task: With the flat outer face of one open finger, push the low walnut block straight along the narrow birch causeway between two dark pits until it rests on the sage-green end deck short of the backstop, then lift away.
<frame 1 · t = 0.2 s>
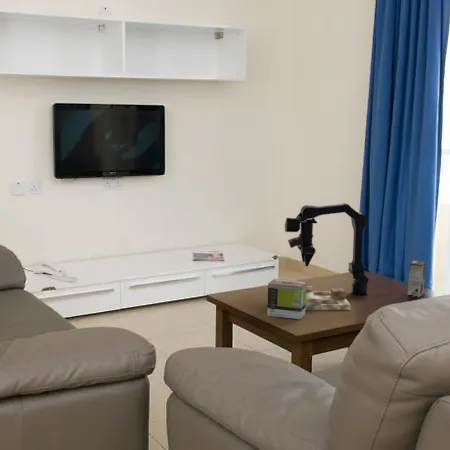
hand: (305, 264, 353), 14 cm above the table, tool pointing down, fingers open, 9 cm apart
tea box: (286, 315, 319), on the table
walnut block: (337, 298, 340), point 2 cm above the table, touching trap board
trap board: (322, 302, 340), on the table
coffee box: (415, 294, 360), on the table
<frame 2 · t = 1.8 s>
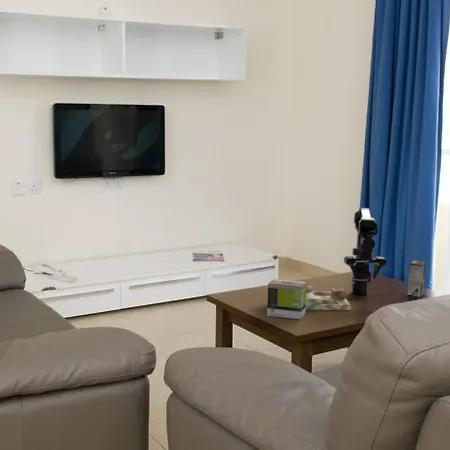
hand: (364, 278, 339), 12 cm above the table, tool pointing down, fingers open, 9 cm apart
nothing on the table moved.
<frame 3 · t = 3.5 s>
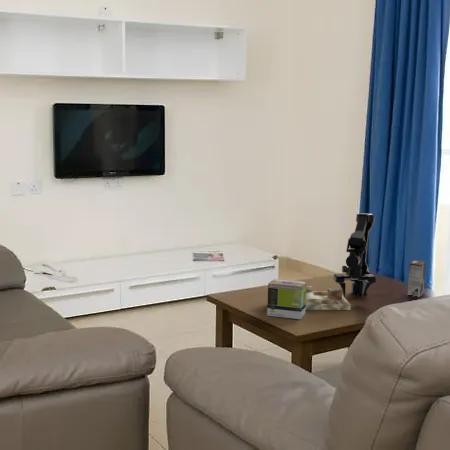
hand: (353, 296, 340), 3 cm above the table, tool pointing down, fingers open, 8 cm apart
walnut block: (334, 298, 340), point 2 cm above the table, touching gripper
everything else where it was.
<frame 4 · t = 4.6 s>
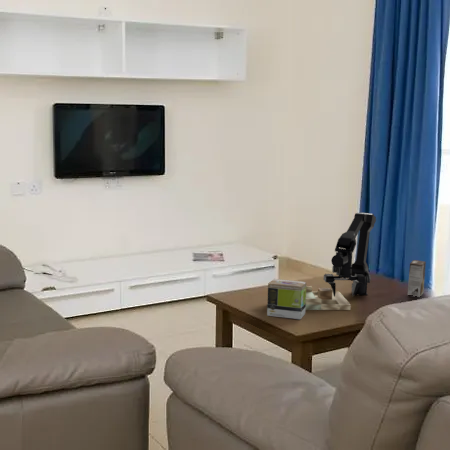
hand: (343, 296, 340), 3 cm above the table, tool pointing down, fingers open, 8 cm apart
walnut block: (324, 297, 339), point 2 cm above the table, touching gripper, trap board
everything else where it was.
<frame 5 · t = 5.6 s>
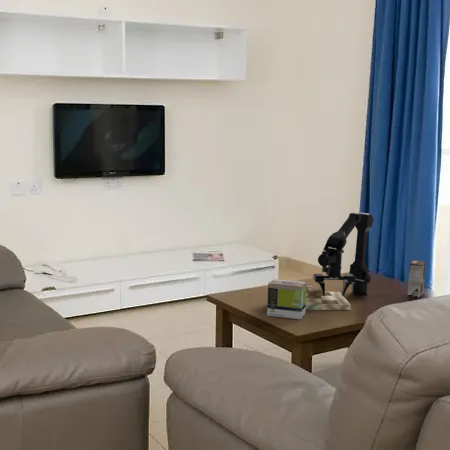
hand: (333, 296, 339), 3 cm above the table, tool pointing down, fingers open, 8 cm apart
walnut block: (314, 297, 339), point 2 cm above the table, touching gripper
everything else where it was.
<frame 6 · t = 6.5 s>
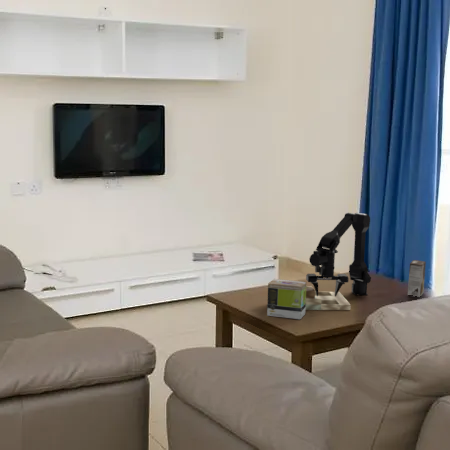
hand: (326, 296, 339), 3 cm above the table, tool pointing down, fingers open, 8 cm apart
walnut block: (307, 297, 338), point 2 cm above the table, touching gripper, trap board
everything else where it was.
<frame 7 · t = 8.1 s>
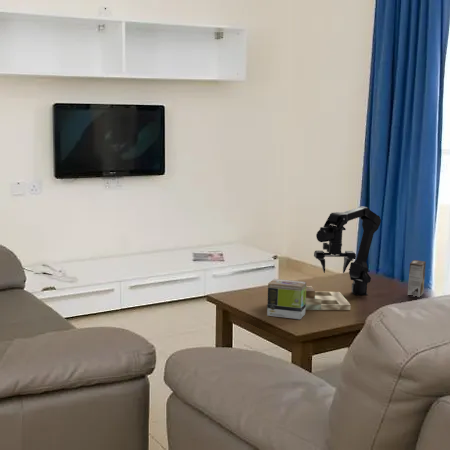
hand: (333, 272, 344), 13 cm above the table, tool pointing down, fingers open, 9 cm apart
walnut block: (307, 297, 338), point 2 cm above the table, touching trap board
everything else where it was.
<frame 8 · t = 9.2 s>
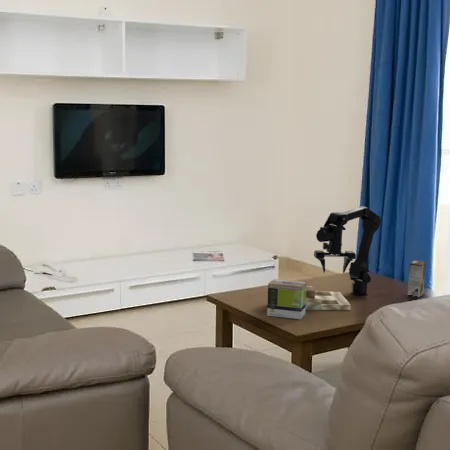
hand: (333, 272, 344), 13 cm above the table, tool pointing down, fingers open, 9 cm apart
nothing on the table moved.
at the end: walnut block inside the target area on the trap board (0.8 cm from its centre), point 2.4 cm above the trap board's base; walnut block tilted 0°; walnut block touching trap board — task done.
